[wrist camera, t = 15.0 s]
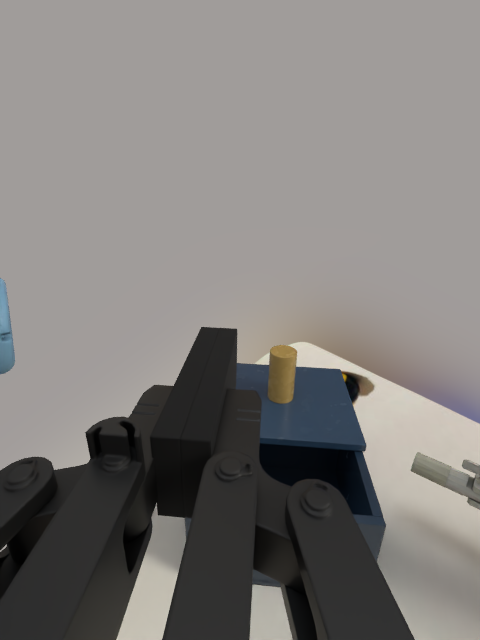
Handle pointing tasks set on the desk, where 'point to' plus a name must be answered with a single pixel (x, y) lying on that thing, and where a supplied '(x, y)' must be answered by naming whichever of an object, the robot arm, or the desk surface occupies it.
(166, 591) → the desk surface
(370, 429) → the desk surface
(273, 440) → the lid
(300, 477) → the bin
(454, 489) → the microphone
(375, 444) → the desk surface
